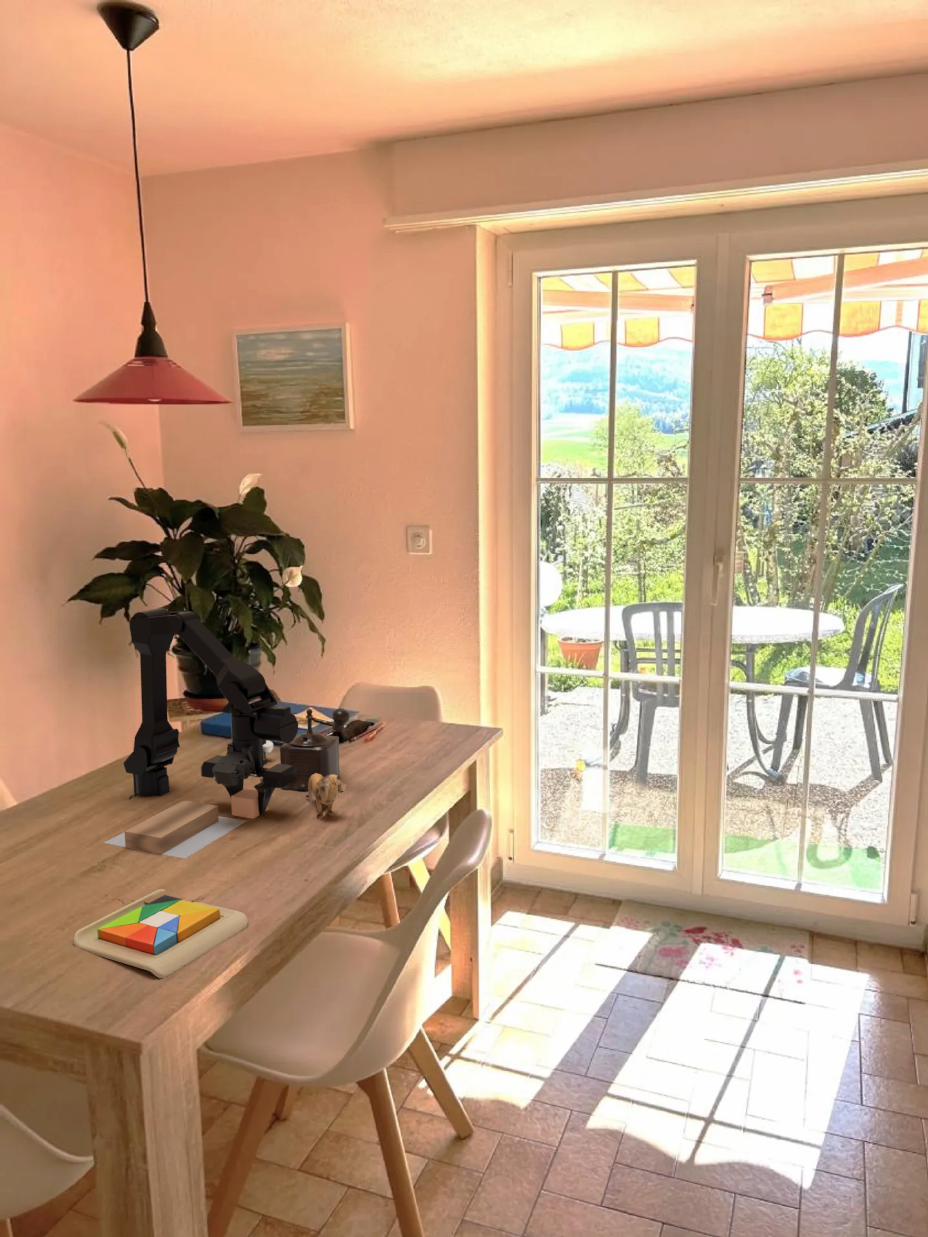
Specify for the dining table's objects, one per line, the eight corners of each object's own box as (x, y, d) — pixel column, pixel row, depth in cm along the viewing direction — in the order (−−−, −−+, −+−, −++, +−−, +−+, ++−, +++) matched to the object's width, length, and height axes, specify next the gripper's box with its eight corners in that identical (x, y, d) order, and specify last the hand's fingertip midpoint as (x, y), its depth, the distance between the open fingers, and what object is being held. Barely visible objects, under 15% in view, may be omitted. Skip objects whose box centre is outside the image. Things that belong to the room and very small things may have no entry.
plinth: (125, 847, 159) (124, 831, 158) (184, 815, 174) (183, 800, 173) (161, 854, 156) (160, 838, 156) (218, 820, 171) (217, 806, 170)
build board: (104, 849, 161) (103, 842, 161) (170, 813, 177) (170, 807, 177) (185, 865, 154) (185, 858, 154) (247, 826, 171) (246, 820, 171)
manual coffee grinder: (278, 790, 190) (275, 708, 187) (296, 773, 201) (293, 695, 198) (348, 794, 188) (346, 711, 185) (363, 777, 198) (361, 698, 196)
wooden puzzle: (165, 897, 144) (164, 877, 143) (252, 928, 134) (251, 906, 134) (69, 947, 129) (68, 924, 129) (159, 985, 120) (158, 961, 119)
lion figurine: (350, 819, 175) (348, 775, 173) (325, 825, 172) (323, 780, 170) (317, 796, 187) (316, 755, 185) (293, 802, 184) (292, 760, 182)
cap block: (232, 820, 174) (231, 796, 173) (247, 811, 178) (246, 787, 178) (253, 824, 172) (252, 799, 171) (268, 815, 177) (267, 791, 176)
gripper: (180, 742, 169) (184, 821, 171) (263, 754, 162) (267, 835, 164) (216, 726, 179) (220, 801, 181) (297, 737, 172) (299, 814, 175)
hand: (250, 812), depth 175 cm, fingers closed on cap block, 5 cm apart
